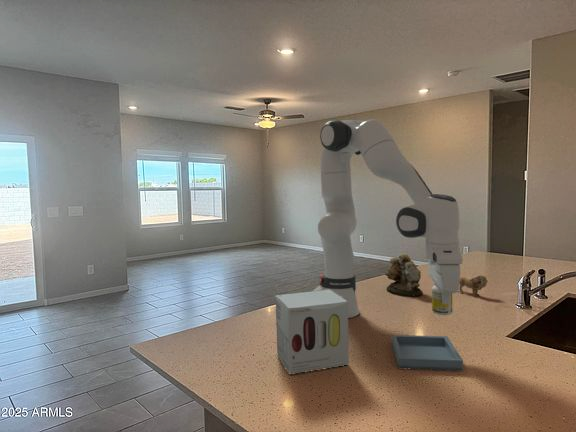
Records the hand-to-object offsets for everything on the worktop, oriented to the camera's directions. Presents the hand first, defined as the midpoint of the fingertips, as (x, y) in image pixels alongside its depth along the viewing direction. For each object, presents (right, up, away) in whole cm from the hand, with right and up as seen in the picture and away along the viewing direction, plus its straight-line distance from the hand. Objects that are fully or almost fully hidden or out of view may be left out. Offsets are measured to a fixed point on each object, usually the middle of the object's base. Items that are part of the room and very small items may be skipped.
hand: (441, 299), depth 111 cm
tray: (-6, -15, -2) cm, 16 cm away
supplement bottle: (0, -4, 0) cm, 4 cm away
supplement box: (-37, -17, -2) cm, 41 cm away
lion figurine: (+34, -10, +54) cm, 65 cm away
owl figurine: (+7, -10, +61) cm, 63 cm away
